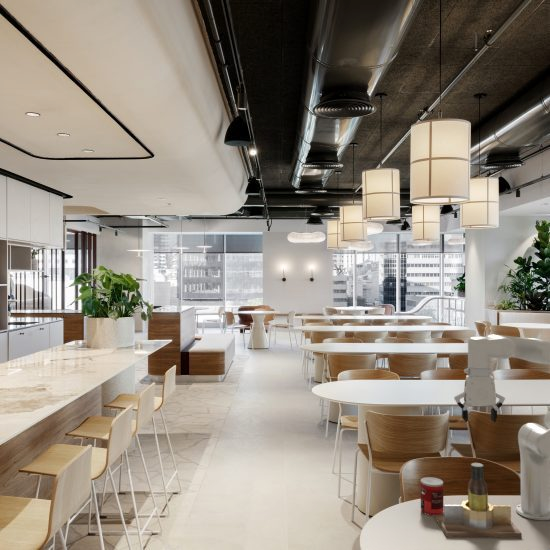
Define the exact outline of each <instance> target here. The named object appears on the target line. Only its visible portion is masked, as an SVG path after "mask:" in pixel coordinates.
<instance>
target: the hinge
mask: <svg viewBox="0 0 550 550" xmlns="http://www.w3.org/2000/svg"><path fill="white" fill-rule="evenodd" d="M443 514H444V524H463V525H464V526H466V527H468V528H471V529H476V530H488V529H491V528H492V527H493V525H494V524H511V521H512V506H511V505H508V504H507V505H506V504H505V505H504V504H503V505H502V504H501V505H500V504H494V505H493V504H491V503H489V502H488V509H487V510H474V509H470V508H468V499H467V500H462V502H461V504H443Z"/></svg>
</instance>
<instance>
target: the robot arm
mask: <svg viewBox="0 0 550 550" xmlns="http://www.w3.org/2000/svg"><path fill="white" fill-rule="evenodd" d="M493 358H494V359H500V360H501V359H502V360H506V359H510V358H515V359H520V360H523V361H527V362H530V363H533V364H534V363H535V364H542V365H550V340H548V339H541V338H531V337H530V338H529V337H521V336H520V337H518V336H512V335H511V336H510V335H501V334H490V335H489V334H488V335H487V336H486V337H485V336H472V337H471V336H470V338H469V339H468V340H467V368H465V369H463V373H464V374H467V375H466V377H465V380H464V381H465V382H464V387H463V388H464V389H463V392H461V393H459V394H456V395H455V396H454V401H455V402H456V405H457V406H458V407H460V409H461V418H462V419H463V421H464V422H465V423H468V422H469V410H468V408H469V407H470V406H473V407H491V408H490V420H491V421H492V422H493V423H497V420H498V411H499V410H500V408H501V407H502V406H503V403H504V401H505V400H506V397H504V396H502V395H500V394H498V392H496V384H495V377H494V376H493V375H492V374H491V373H492V368H491V367H492V366H491V365H492V364H491V363H492V360H491V359H493ZM461 399H463V401H464V402H463V403H462V402H461ZM497 399H498V401H497ZM544 423H545V426H546V427H545V426H543V425H542V424H539V423H536V422H527V423H525V424H523V425H522V426H521V427H520V428H519V430H518V435H517V442H518V446H519V447H518V448H519V455H520V503H519V504H517V505H516V507H515V510H516V513H517V514H518V515H520V516H521V517H525V518H527V519H530V520H536V521H549V520H550V410H549V411H548V412H546V413H545V416H544Z"/></svg>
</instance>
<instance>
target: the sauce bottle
mask: <svg viewBox="0 0 550 550" xmlns="http://www.w3.org/2000/svg"><path fill="white" fill-rule="evenodd" d="M484 469H485V468H484V464H482V463H480V462H472V463H471V464H470V470H471V476H470V477H471V478H470V480H469V481H468V483H467V500H468V508H470V509H474V510H487V509H488V503H489V498H488V497H489V494H488V484H487V482H486V481H485V479H484V477H485V476H484V471H485V470H484Z"/></svg>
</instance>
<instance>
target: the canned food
mask: <svg viewBox="0 0 550 550" xmlns="http://www.w3.org/2000/svg"><path fill="white" fill-rule="evenodd" d="M420 510H421V512H422V513H424V514H425V513H426V514H425V515H427V514H429V515H428V516H432V515H436V514H444V481H443V480H442V479H440V478H437V477H431V476H428V477H427V476H426V477H423V478H421V479H420Z"/></svg>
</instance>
